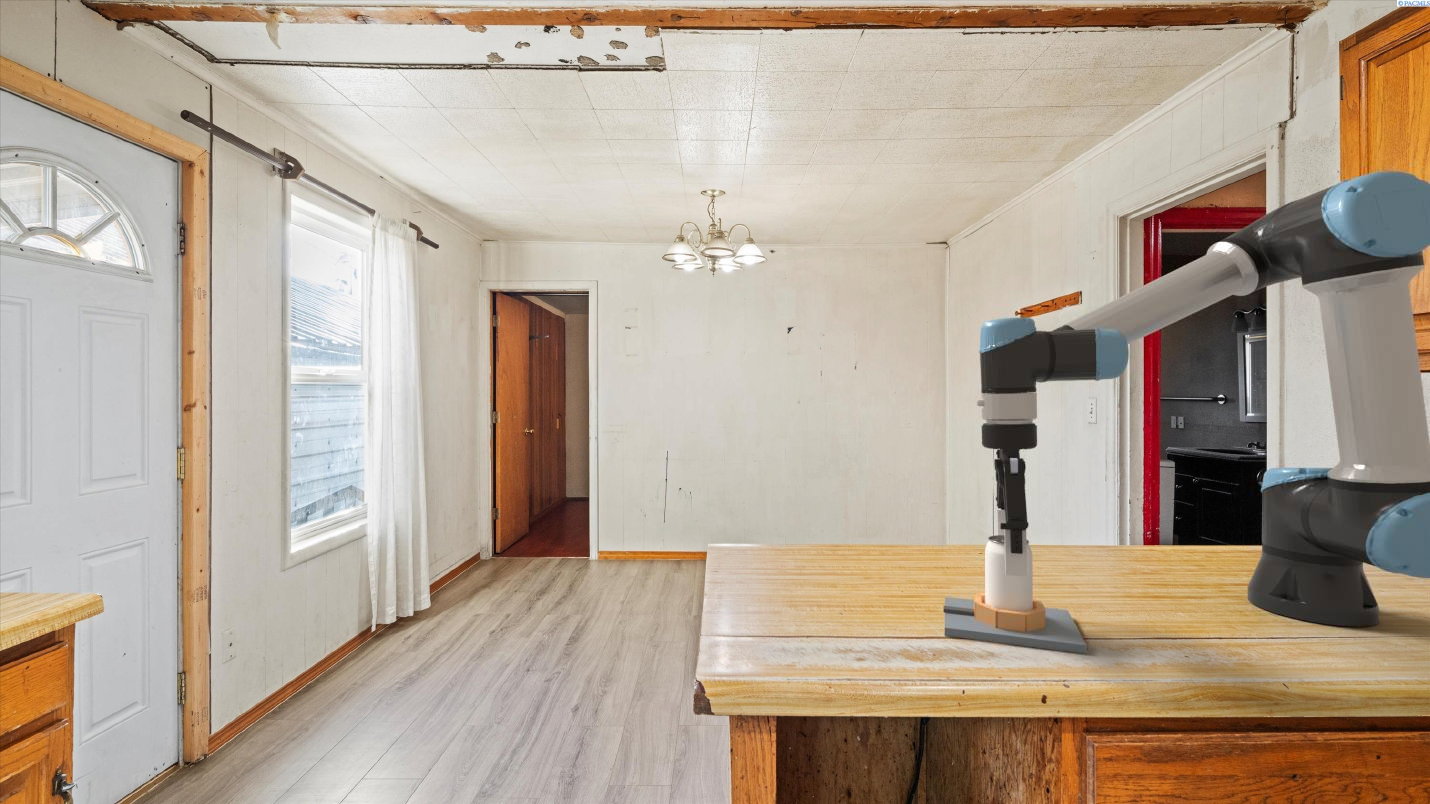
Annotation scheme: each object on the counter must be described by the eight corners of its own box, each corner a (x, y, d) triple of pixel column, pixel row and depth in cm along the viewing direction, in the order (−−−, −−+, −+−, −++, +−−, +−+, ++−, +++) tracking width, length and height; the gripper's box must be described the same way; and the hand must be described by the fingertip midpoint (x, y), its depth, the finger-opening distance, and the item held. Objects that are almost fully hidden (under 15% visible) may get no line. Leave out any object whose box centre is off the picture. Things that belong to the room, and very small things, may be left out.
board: (1067, 617, 95) (1067, 594, 95) (1086, 653, 82) (1086, 626, 82) (943, 603, 102) (943, 581, 102) (943, 635, 89) (943, 610, 89)
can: (1038, 627, 88) (1038, 545, 88) (990, 624, 90) (990, 543, 89) (1024, 611, 95) (1025, 535, 94) (980, 609, 96) (980, 533, 96)
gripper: (977, 417, 104) (980, 540, 105) (986, 427, 81) (989, 584, 82) (1026, 417, 102) (1029, 543, 102) (1049, 427, 78) (1052, 590, 79)
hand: (1011, 562), depth 92 cm, fingers open, 13 cm apart
